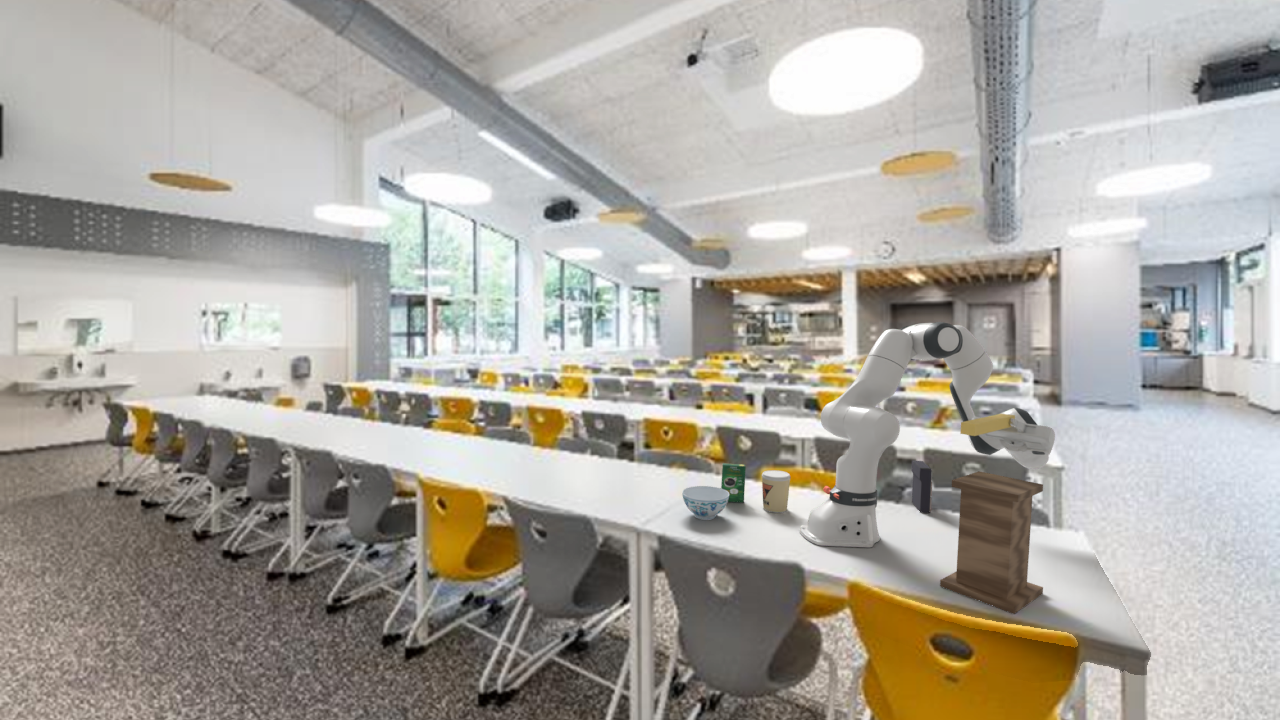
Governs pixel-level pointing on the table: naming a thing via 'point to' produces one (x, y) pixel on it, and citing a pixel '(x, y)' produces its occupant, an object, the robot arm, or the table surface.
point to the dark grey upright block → (921, 486)
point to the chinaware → (705, 501)
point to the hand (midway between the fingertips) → (1002, 419)
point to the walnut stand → (994, 541)
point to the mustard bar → (986, 424)
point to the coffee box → (734, 481)
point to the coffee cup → (775, 490)
